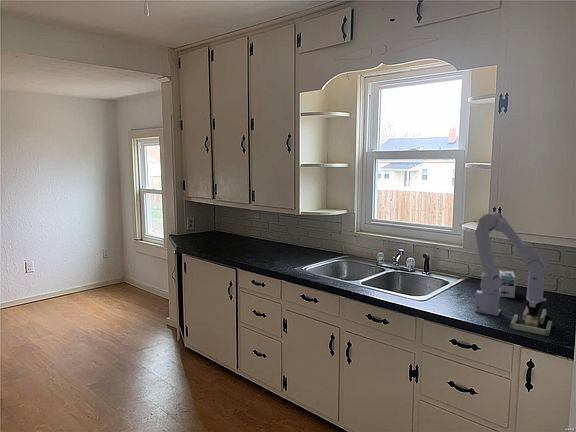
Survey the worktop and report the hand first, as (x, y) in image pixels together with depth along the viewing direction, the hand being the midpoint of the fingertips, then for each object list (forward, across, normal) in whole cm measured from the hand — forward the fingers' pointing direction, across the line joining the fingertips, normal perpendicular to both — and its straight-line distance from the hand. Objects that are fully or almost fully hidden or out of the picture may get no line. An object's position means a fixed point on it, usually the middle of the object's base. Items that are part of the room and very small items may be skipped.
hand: (532, 318), depth 178 cm
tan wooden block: (+2, -7, 0) cm, 7 cm away
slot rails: (+1, +6, 0) cm, 6 cm away
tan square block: (+1, -3, 0) cm, 3 cm away
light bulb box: (+2, +32, +15) cm, 36 cm away
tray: (+1, -6, 0) cm, 6 cm away
